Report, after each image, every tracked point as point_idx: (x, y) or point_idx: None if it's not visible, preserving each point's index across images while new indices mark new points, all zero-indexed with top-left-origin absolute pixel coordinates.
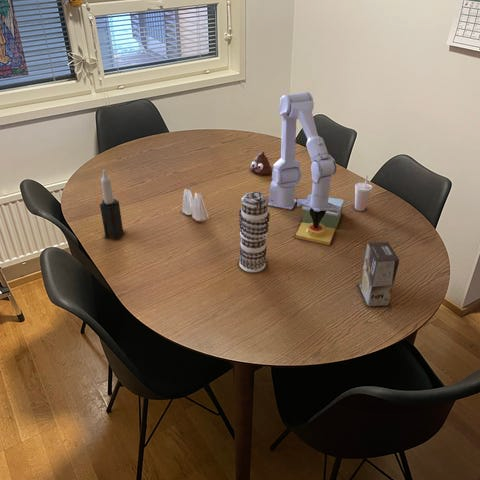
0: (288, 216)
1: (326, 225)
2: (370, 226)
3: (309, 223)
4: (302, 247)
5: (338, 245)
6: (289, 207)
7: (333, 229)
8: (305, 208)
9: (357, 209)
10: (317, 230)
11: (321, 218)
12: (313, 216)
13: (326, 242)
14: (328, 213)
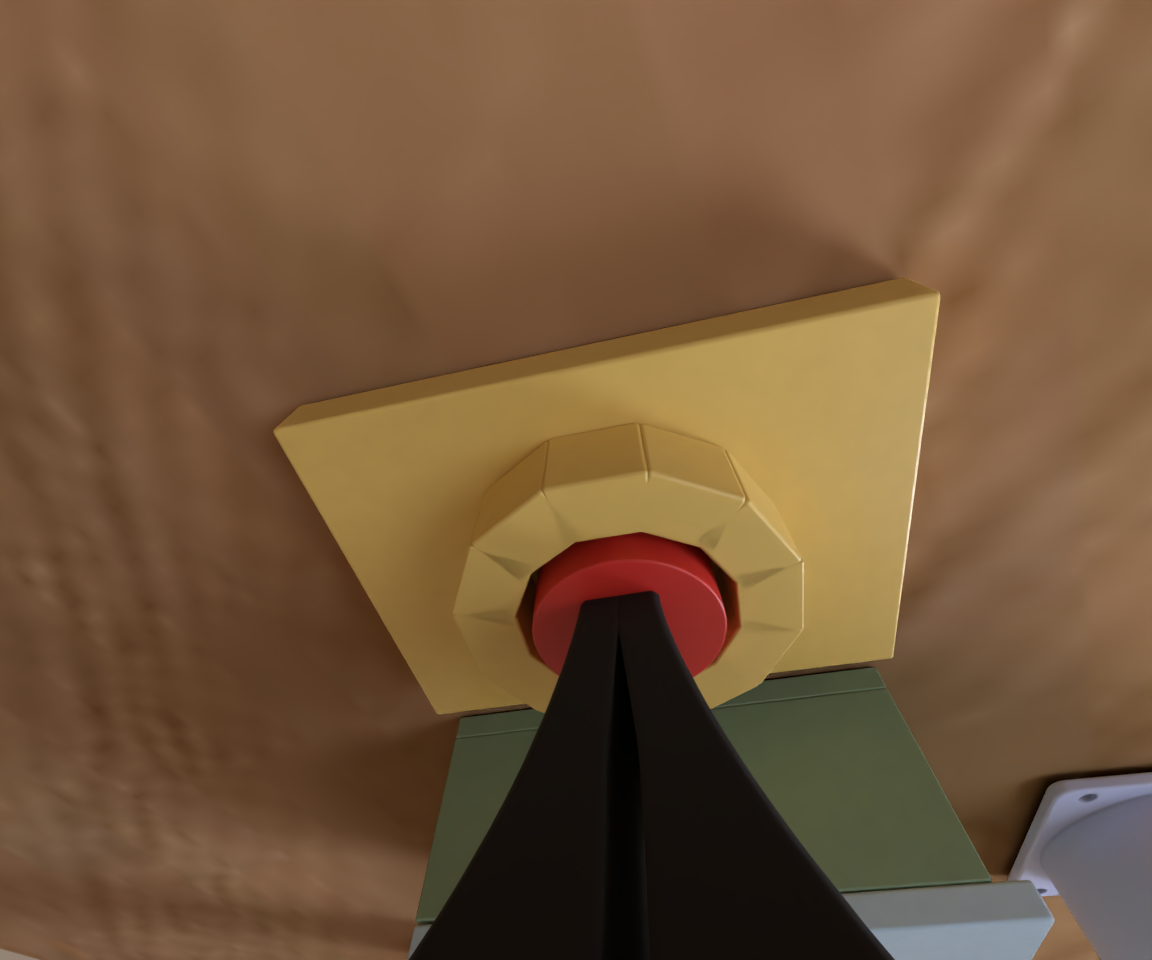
0: (1080, 683)
1: None
2: (246, 844)
3: (779, 679)
4: (667, 5)
5: (209, 469)
6: (1089, 800)
7: (441, 699)
8: (983, 928)
9: None
10: (566, 565)
11: (434, 941)
12: (753, 949)
13: (334, 411)
14: None
